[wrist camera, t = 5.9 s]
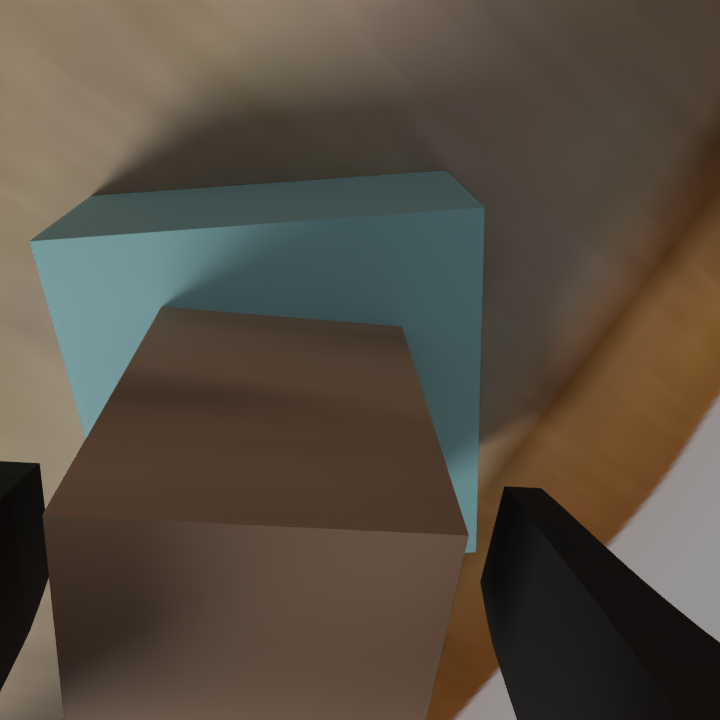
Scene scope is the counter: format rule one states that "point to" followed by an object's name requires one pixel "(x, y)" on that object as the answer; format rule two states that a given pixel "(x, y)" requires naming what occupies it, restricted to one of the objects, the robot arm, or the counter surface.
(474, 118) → the counter surface
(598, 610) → the robot arm
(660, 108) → the counter surface
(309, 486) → the walnut block
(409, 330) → the teal base box
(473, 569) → the counter surface
